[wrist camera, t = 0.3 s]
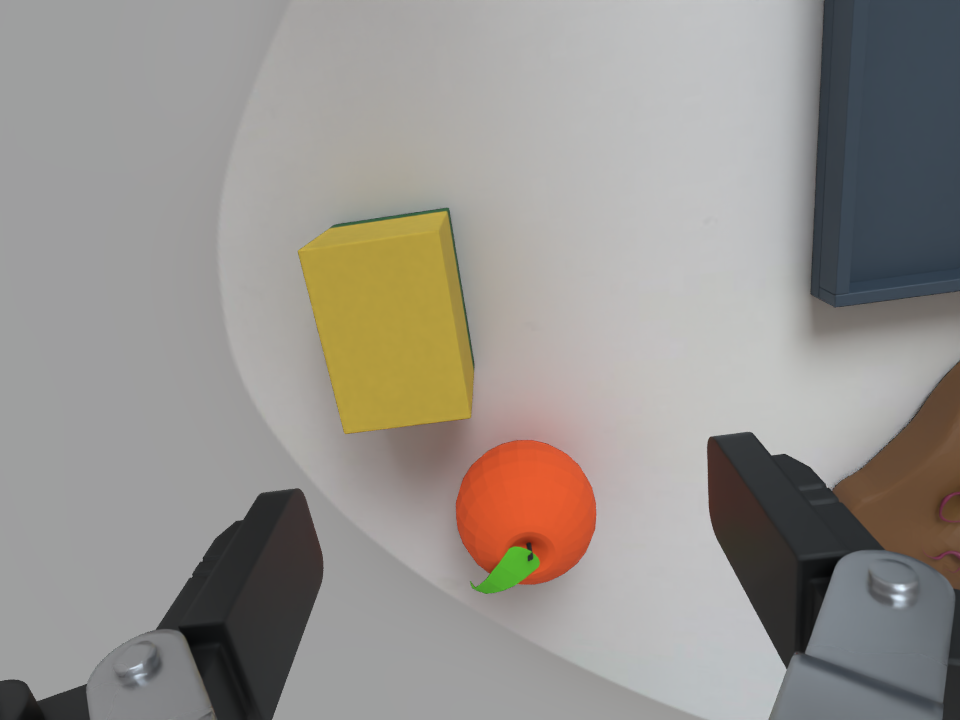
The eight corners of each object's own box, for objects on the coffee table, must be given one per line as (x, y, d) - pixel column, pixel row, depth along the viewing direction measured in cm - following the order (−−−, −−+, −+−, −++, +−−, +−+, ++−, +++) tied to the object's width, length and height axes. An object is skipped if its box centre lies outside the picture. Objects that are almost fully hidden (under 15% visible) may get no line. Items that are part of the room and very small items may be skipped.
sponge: (333, 224, 29) (296, 250, 24) (448, 207, 29) (439, 229, 23) (369, 379, 32) (343, 434, 27) (474, 365, 32) (471, 419, 26)
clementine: (520, 557, 36) (527, 657, 30) (422, 496, 35) (407, 586, 28) (612, 462, 34) (642, 547, 27) (511, 392, 32) (516, 463, 26)
